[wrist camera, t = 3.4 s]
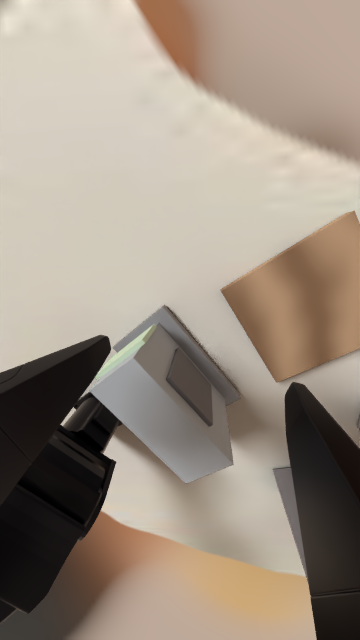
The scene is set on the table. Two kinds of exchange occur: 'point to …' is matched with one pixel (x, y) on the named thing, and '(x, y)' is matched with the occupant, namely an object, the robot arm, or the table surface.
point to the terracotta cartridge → (290, 507)
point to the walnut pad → (304, 300)
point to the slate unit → (170, 396)
